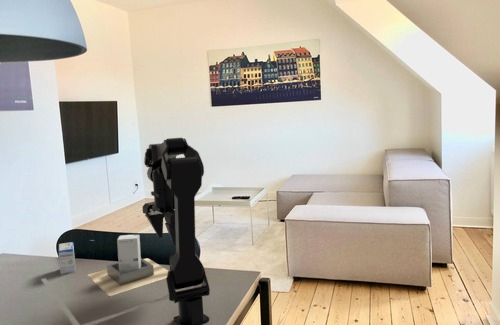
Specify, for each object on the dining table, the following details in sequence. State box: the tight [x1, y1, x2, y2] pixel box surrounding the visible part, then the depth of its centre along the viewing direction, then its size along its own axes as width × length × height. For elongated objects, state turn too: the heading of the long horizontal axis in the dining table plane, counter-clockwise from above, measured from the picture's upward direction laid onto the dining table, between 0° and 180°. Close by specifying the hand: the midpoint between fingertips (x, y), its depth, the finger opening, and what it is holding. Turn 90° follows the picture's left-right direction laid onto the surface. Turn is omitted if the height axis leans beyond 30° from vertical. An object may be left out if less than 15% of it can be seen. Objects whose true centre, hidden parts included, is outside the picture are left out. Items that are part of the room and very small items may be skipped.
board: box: [87, 258, 169, 297], centre depth 122 cm, size 20×20×1 cm
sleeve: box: [106, 257, 154, 285], centre depth 122 cm, size 10×10×3 cm
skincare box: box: [116, 234, 142, 273], centre depth 121 cm, size 6×4×12 cm
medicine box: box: [58, 241, 77, 275], centre depth 129 cm, size 8×4×9 cm, turn 25°
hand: (167, 240), depth 114 cm, fingers open, 9 cm apart
